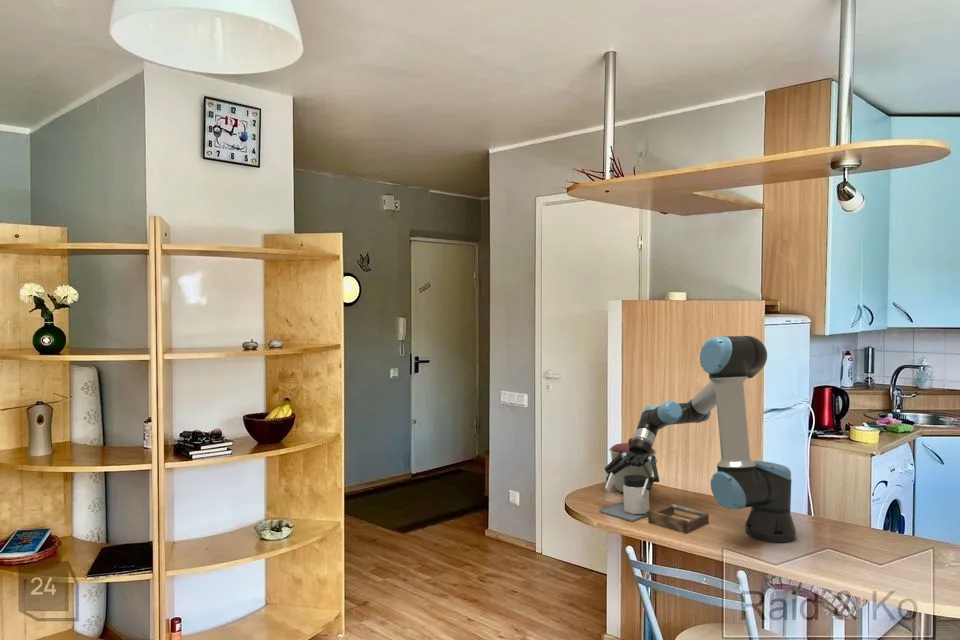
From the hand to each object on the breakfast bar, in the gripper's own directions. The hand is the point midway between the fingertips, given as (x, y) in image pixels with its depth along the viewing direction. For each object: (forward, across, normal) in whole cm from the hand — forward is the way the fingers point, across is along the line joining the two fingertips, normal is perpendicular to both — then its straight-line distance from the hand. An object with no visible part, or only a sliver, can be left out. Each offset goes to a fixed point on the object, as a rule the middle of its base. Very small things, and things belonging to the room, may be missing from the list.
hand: (624, 493), depth 234 cm
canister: (-15, +10, -26) cm, 31 cm away
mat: (+4, 0, -7) cm, 8 cm away
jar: (+2, -3, -8) cm, 8 cm away
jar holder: (+3, -18, -8) cm, 20 cm away
